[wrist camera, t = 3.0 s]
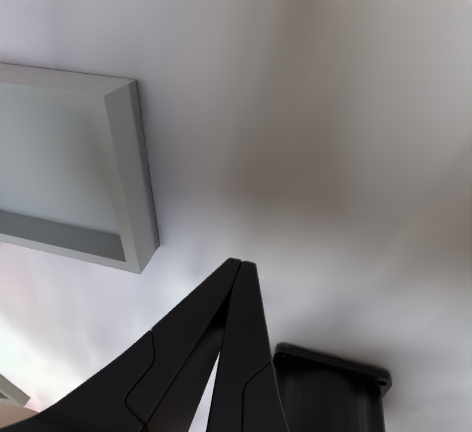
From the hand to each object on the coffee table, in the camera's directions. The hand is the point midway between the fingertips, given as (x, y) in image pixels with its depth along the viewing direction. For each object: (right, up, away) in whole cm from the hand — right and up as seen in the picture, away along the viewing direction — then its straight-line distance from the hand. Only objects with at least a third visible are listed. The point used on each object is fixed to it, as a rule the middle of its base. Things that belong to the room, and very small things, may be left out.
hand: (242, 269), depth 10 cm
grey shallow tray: (-9, +4, +5) cm, 11 cm away
